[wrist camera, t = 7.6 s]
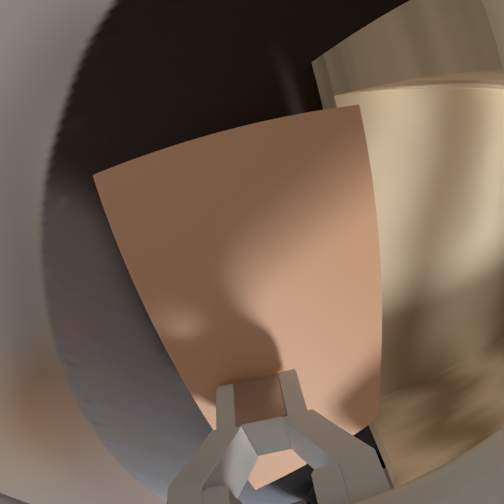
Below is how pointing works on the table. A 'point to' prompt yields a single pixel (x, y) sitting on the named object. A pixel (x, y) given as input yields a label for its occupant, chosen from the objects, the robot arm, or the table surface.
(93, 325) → the table surface
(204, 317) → the panel
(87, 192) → the table surface
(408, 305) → the box
